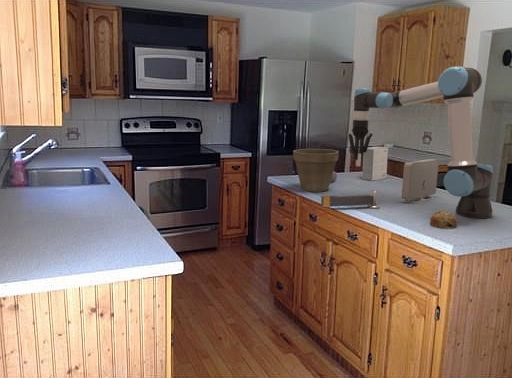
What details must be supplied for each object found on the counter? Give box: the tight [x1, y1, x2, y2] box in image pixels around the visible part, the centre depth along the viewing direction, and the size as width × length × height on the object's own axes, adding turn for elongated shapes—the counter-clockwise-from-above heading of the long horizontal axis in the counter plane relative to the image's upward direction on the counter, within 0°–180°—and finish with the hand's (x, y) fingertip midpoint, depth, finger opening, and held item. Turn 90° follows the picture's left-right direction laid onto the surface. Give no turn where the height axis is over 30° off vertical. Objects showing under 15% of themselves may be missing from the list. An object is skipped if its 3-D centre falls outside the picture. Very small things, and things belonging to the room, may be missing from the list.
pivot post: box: [366, 189, 381, 210], centre depth 221 cm, size 6×6×8 cm
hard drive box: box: [361, 146, 389, 182], centre depth 295 cm, size 16×8×20 cm, turn 130°
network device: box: [401, 158, 440, 204], centre depth 238 cm, size 26×9×20 cm, turn 129°
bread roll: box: [429, 210, 458, 230], centre depth 192 cm, size 10×10×8 cm
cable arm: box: [320, 194, 372, 208], centre depth 218 cm, size 24×3×5 cm, turn 103°
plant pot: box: [292, 148, 339, 193], centre depth 259 cm, size 25×25×22 cm
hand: (358, 165), depth 240 cm, fingers closed
